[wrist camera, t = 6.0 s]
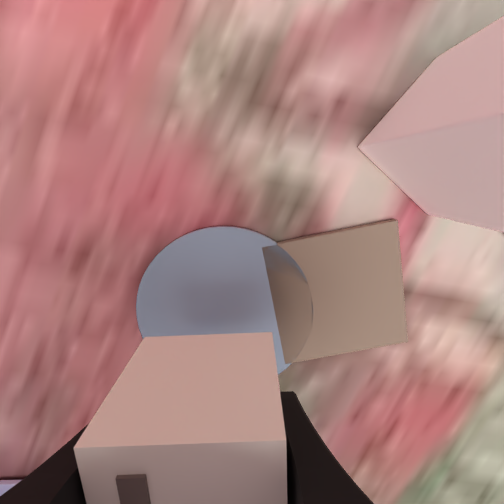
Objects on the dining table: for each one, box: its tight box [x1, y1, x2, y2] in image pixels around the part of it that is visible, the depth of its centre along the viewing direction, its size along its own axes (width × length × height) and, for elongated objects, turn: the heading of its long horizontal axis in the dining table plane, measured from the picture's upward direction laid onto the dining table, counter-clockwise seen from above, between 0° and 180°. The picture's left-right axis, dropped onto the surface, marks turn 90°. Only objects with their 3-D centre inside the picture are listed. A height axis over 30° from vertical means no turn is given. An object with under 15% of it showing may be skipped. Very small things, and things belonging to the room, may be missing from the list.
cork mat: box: [262, 219, 408, 364], centre depth 19 cm, size 8×8×1 cm
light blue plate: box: [136, 226, 313, 374], centre depth 19 cm, size 11×11×1 cm
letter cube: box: [74, 332, 287, 504], centre depth 10 cm, size 5×5×5 cm
